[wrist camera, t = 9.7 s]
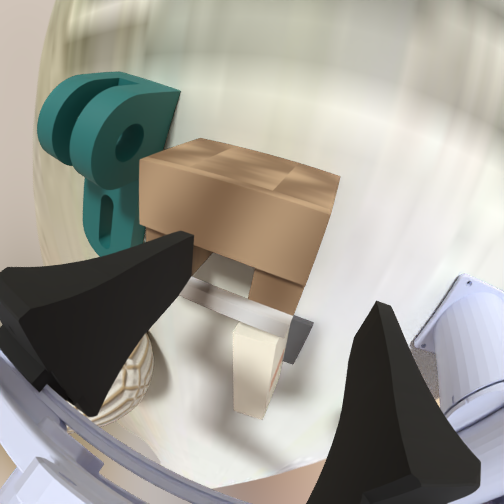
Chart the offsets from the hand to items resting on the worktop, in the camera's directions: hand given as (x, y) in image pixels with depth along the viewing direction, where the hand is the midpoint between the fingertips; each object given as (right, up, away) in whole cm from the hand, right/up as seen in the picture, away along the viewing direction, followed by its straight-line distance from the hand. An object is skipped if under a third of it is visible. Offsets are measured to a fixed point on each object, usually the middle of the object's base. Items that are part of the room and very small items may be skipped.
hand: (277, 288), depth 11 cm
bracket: (-12, +8, +13) cm, 20 cm away
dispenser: (-1, +5, +10) cm, 11 cm away
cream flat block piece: (+1, -7, +15) cm, 17 cm away
